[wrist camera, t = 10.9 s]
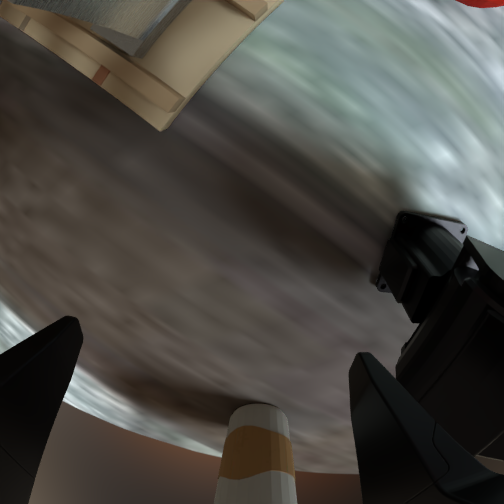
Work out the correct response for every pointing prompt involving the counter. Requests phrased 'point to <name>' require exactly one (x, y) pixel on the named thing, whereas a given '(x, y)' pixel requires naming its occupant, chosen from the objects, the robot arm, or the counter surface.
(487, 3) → the tomato
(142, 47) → the fader knob
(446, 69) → the counter surface
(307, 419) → the counter surface
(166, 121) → the fader track
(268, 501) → the coffee cup
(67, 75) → the counter surface
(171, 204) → the counter surface
